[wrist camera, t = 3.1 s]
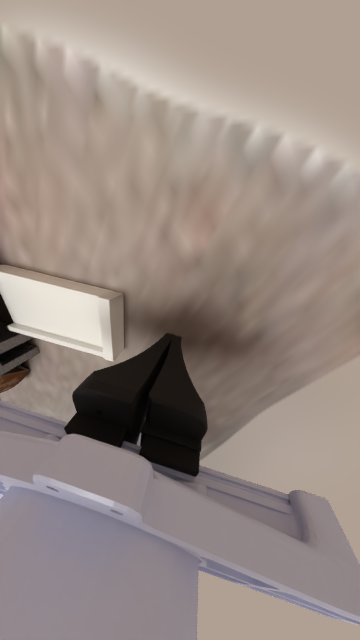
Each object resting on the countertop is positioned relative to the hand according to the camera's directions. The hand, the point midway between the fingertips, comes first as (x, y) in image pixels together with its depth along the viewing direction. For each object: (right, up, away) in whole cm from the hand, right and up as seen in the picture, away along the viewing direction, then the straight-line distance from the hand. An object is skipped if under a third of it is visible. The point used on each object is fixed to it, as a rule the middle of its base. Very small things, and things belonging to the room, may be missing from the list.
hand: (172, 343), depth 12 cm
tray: (-11, +3, +2) cm, 11 cm away
